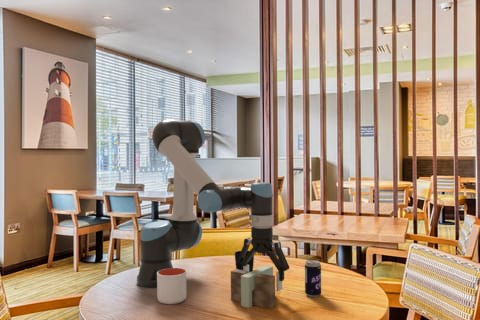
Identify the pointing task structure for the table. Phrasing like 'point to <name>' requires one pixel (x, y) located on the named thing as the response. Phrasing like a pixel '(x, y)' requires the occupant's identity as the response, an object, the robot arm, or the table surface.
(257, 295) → the walnut stand
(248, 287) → the sage plate
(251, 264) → the cup
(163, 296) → the cup
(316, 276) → the beverage can
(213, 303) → the table surface
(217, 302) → the table surface
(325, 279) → the table surface
